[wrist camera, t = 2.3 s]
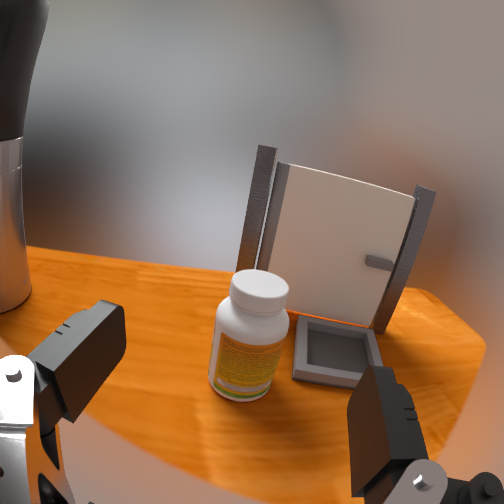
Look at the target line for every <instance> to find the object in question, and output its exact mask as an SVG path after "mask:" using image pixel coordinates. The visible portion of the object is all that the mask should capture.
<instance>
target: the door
mask: <svg viewBox="0 0 504 504" xmlns="http://www.w3.org/2000/svg"><path fill="white" fill-rule="evenodd" d="M414 202H415V198H414V197H412V196H409V195H406V194H403V193H399V192H396V191H393V190H389V189H386V188H383V187H380V186H376V185H372V184H369V183H365V182H361V181H358V180H354V179H351V178H347V177H343V176H339V175H335V174H331V173H327V172H323V171H319V170H315V169H310V168H306V167H302V166H298V165H293V164H289V163H285V162H278V163H277V168H276V173H275V178H274V183H273V188H272V193H271V198H270V203H269V208H268V213H267V218H266V223H265V228H264V233H263V238H262V243H261V247H260V253H259V257H258V263H257V267H256V270H262V271H266V272H270V273H272V274H275V275H277V276H279V277H280V278H282V279H283V280H284V281H285V282H286V283H287V284H288V286H289V293H288V297H287V301H286V304H285V307H284V309H287V310H292V311H296V312H301V313H305V314H310V315H315V316H320V317H324V318H329V319H334V320H339V321H344V322H349V323H354V324H359V325H365V326H370V324H371V322H372V320H373V317H374V315H375V313H376V310H377V308H378V305H379V303H380V301H381V298H382V296H383V293H384V291H385V288H386V285H387V283H388V280H389V278H390V275H391V272H392V270H393V268H394V264H395V261H396V258H397V256H398V253H399V250H400V247H401V244H402V241H403V238H404V235H405V232H406V229H407V225H408V222H409V219H410V216H411V212H412V209H413V205H414Z"/></svg>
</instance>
